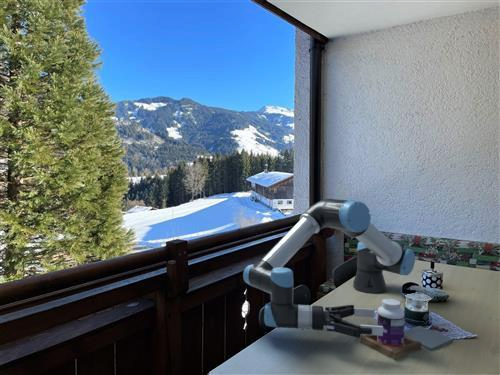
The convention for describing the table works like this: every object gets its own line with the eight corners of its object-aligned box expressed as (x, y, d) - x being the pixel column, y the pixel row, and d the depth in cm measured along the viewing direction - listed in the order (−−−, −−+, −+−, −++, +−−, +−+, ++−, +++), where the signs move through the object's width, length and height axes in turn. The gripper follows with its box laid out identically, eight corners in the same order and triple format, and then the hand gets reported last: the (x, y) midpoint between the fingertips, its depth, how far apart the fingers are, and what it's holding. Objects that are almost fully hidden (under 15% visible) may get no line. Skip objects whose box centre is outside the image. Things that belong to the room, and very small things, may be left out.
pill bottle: (372, 340, 118) (373, 297, 118) (395, 339, 119) (396, 296, 118) (383, 352, 110) (384, 306, 110) (408, 351, 111) (409, 305, 110)
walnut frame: (360, 342, 117) (360, 336, 117) (386, 332, 124) (386, 327, 123) (394, 360, 106) (394, 353, 106) (421, 348, 112) (421, 342, 112)
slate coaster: (397, 335, 121) (397, 333, 121) (419, 327, 128) (419, 325, 128) (431, 350, 111) (431, 348, 111) (452, 341, 117) (452, 339, 117)
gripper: (310, 313, 130) (371, 317, 127) (311, 346, 106) (386, 352, 102) (310, 293, 130) (371, 296, 127) (312, 322, 105) (387, 326, 102)
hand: (378, 321), depth 114 cm, fingers open, 13 cm apart
